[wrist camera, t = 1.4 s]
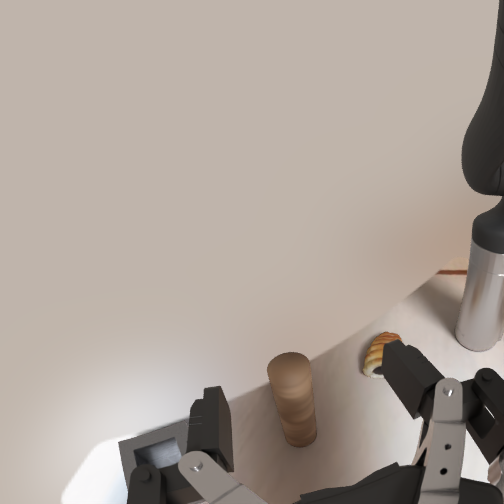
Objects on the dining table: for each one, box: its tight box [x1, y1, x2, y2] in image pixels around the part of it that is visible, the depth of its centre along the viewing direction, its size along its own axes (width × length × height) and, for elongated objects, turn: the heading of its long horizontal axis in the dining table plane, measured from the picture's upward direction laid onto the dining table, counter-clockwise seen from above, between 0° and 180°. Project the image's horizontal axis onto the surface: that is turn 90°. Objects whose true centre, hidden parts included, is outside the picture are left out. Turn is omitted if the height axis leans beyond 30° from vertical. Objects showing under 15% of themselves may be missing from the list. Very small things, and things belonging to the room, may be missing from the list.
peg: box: [267, 352, 317, 447], centre depth 26 cm, size 4×4×14 cm
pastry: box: [363, 332, 402, 379], centre depth 36 cm, size 9×7×4 cm
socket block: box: [118, 420, 206, 504], centre depth 23 cm, size 10×10×5 cm
